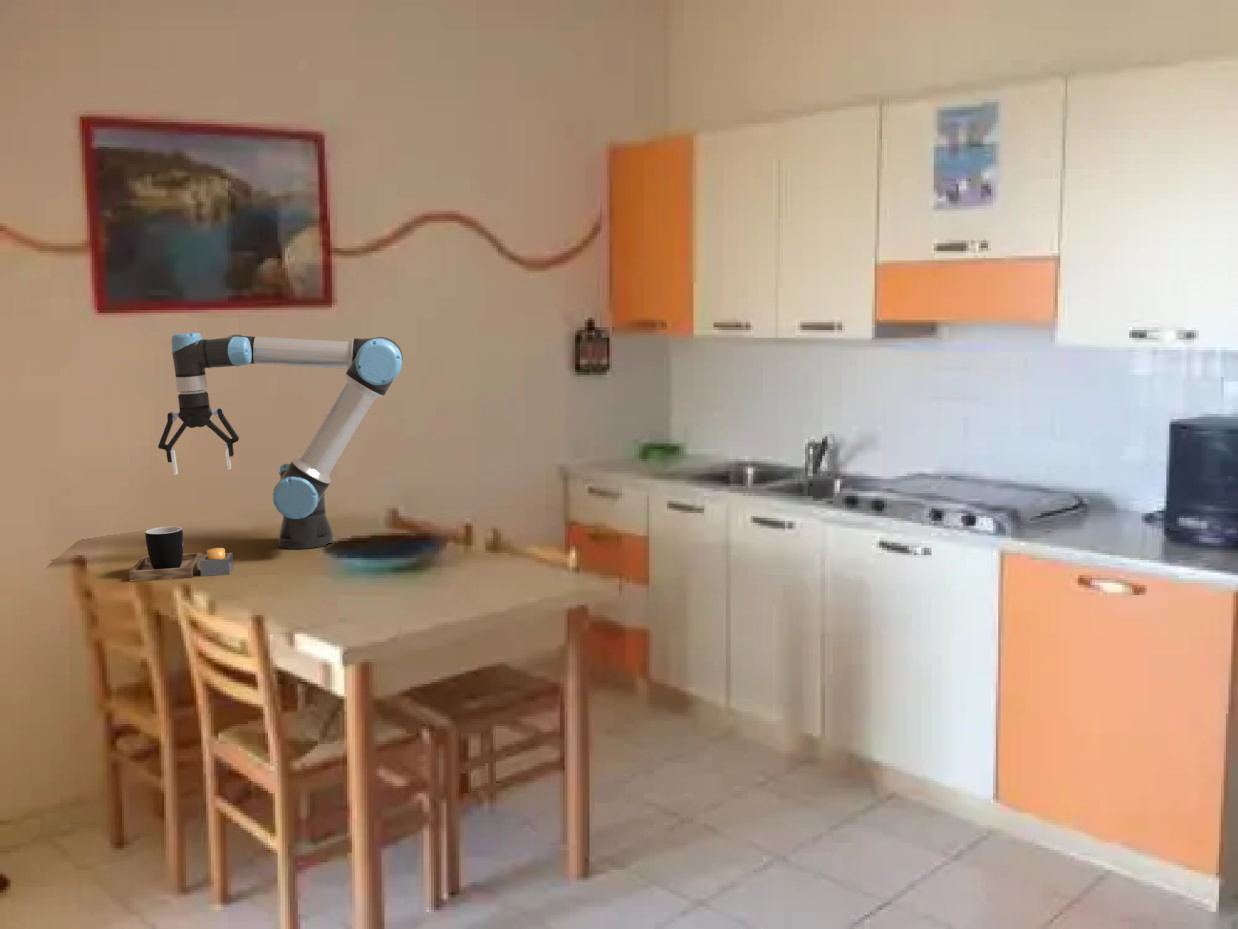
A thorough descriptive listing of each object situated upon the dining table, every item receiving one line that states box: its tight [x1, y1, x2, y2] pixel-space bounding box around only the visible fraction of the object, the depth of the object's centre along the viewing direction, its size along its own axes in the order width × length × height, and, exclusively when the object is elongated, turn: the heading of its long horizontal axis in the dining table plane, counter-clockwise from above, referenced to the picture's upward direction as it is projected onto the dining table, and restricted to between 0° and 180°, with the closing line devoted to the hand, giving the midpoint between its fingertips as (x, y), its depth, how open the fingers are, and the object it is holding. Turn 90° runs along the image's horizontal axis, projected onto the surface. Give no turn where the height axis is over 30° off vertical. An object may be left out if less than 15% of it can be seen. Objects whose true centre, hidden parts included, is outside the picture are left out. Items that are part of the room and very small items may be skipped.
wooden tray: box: [128, 552, 204, 582], centre depth 312 cm, size 15×17×2 cm
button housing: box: [199, 552, 234, 577], centre depth 310 cm, size 7×7×4 cm
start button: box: [206, 547, 226, 559], centre depth 310 cm, size 4×4×5 cm
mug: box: [145, 526, 184, 569], centre depth 311 cm, size 12×9×10 cm
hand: (202, 471), depth 321 cm, fingers open, 13 cm apart
